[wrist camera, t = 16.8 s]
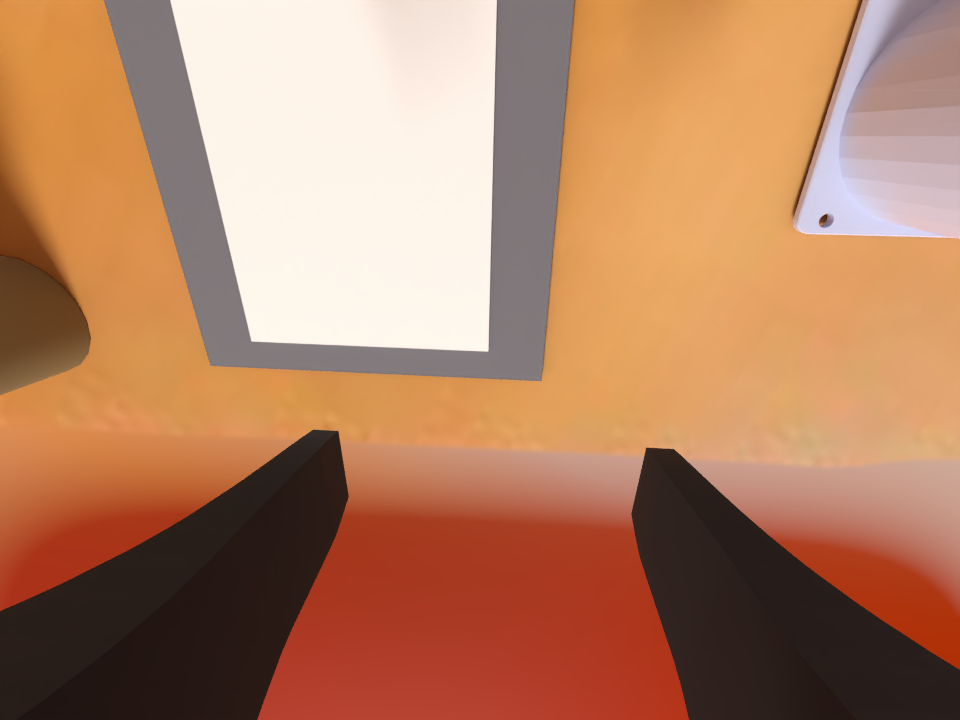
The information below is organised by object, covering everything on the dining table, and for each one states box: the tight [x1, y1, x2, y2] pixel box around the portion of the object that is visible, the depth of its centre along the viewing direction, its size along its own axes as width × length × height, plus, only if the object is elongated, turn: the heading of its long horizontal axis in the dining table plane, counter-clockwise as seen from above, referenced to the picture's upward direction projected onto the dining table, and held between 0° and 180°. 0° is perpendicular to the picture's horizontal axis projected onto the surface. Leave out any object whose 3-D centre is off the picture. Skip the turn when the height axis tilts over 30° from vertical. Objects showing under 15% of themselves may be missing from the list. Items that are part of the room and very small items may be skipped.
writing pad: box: [104, 0, 574, 381], centre depth 18 cm, size 16×16×1 cm
